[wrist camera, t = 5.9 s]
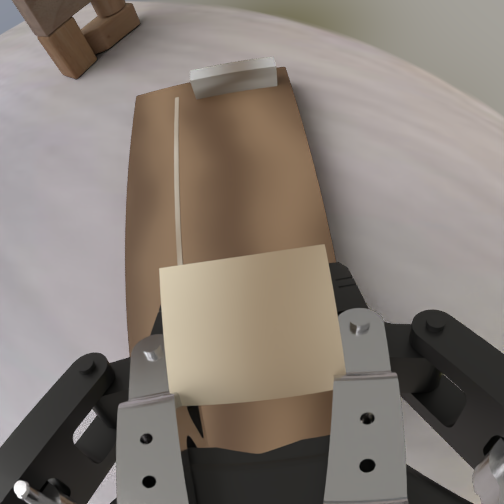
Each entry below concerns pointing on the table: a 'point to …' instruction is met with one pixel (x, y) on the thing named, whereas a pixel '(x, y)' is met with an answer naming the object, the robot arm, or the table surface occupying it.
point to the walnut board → (223, 213)
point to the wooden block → (77, 29)
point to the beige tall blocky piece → (251, 327)
